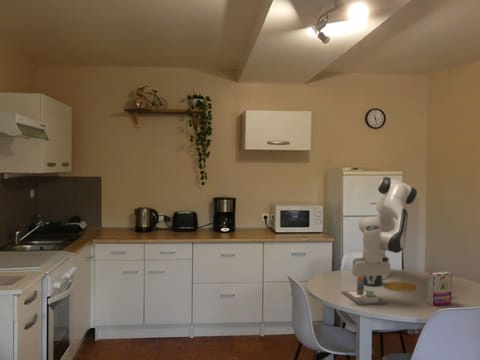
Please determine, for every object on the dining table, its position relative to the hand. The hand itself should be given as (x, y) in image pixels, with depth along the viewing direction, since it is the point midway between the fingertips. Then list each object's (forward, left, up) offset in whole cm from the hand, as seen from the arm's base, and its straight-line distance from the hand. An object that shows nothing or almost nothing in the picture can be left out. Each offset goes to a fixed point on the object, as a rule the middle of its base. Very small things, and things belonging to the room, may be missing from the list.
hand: (370, 284), depth 226 cm
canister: (-34, +18, -10) cm, 39 cm away
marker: (-11, 0, -9) cm, 14 cm away
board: (-7, 0, -10) cm, 12 cm away
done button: (0, 0, -7) cm, 7 cm away
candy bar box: (+7, +35, -10) cm, 37 cm away
